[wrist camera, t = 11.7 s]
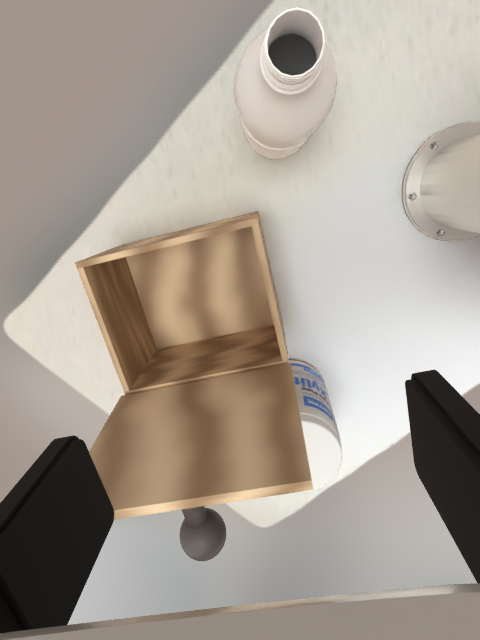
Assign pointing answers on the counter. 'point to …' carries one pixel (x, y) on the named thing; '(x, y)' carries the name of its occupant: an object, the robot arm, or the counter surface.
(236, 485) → the lid
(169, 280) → the wooden box
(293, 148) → the water bottle
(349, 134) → the counter surface
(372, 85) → the counter surface
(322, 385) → the supplement tub
